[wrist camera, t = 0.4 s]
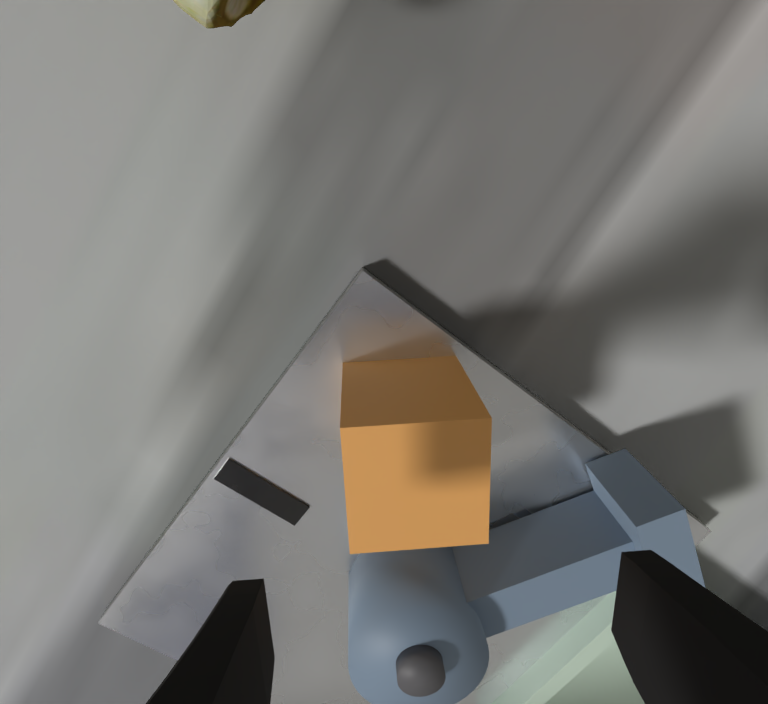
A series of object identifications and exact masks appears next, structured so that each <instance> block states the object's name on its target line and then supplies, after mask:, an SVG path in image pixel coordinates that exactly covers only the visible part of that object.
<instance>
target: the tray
mask: <svg viewBox="0 0 768 704" xmlns="http://www.w3.org/2000/svg"><path fill="white" fill-rule="evenodd" d="M615 597H616V591H614V592H611V593H609V594H608V595H607V596H606V597H604V598H603V599H602V600H601V601H600V602H599V603H598V604H597V605H596V606H595V607H594V608H593V609H592V610H591V611H590V612H588V613H587V614H586V615H585V616H584V617H583V618H582V619H581V620H580V621H579V622H578V623H577V624H576V625H575V626H574V627H573V628H571V629H570V630H569V631H568V632H567V633H566V634H565V635H564V636H563V637H562V638H561V639H560V640H559V641H558V642H557V643H555V644H554V645H553V646H552V647H551V648H550V649H549V650H548V651H547V652H546V653H545V654H544V655H543V656H542V657H541V658H540V659H538V660H537V661H536V662H535V663H534V664H533V665H532V666H531V667H530V668H529V669H528V670H527V671H526V672H525V673H524V674H522V675H521V676H520V677H519V678H518V679H517V680H516V681H515V682H514V683H513V684H512V685H511V686H510V687H509V688H508V689H507V690H505V691H504V692H503V693H502V694H501V695H500V696H499V697H498V698H497V699H496V700H495V701H494V702H493V703H492V704H645V703H644V701H643V699H642V698H641V696H640V694H639V692H638V690H637V688H636V687H635V685H634V683H633V680H632V678H631V676H630V674H629V671H628V669H627V667H626V665H625V662H624V660H623V658H622V655H621V653H620V651H619V648H618V646H617V643H616V641H615V638H614V636H613V634H612V631H611V628H612V620H613V613H614V605H615Z"/></svg>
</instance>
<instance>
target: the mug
mask: <svg viewBox="0 0 768 704" xmlns="http://www.w3.org/2000/svg"><path fill="white" fill-rule="evenodd" d="M173 1H174V2H175V3H176V4H177V5H178V6H179V7H180V8H181V9H182V10H183V11H185V12H186V13H187V14H189V15H190V16H191V17H192V18H194V19H195V20H196V21H197V22H199V23H200V24H202V25H203V26H204V27H206V28H217V27H223V26H230V27H232V26H233V25H234V24H235V23H236V22H237V21H238V20H239V19H240V18H242V17H244V16H245V15H248V14H252V12H253V11H254V10H255V9H256V8H257V7H258V6H259V5H260V4H261V3H263V2H264V1H265V0H173Z"/></svg>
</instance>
